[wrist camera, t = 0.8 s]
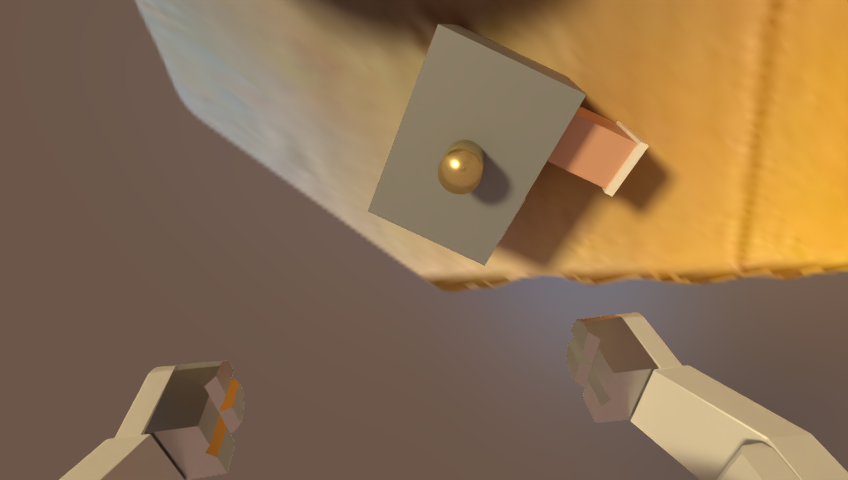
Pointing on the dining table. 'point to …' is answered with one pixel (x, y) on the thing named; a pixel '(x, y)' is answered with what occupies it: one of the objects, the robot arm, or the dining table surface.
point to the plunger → (598, 150)
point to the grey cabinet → (481, 123)
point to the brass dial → (461, 167)
